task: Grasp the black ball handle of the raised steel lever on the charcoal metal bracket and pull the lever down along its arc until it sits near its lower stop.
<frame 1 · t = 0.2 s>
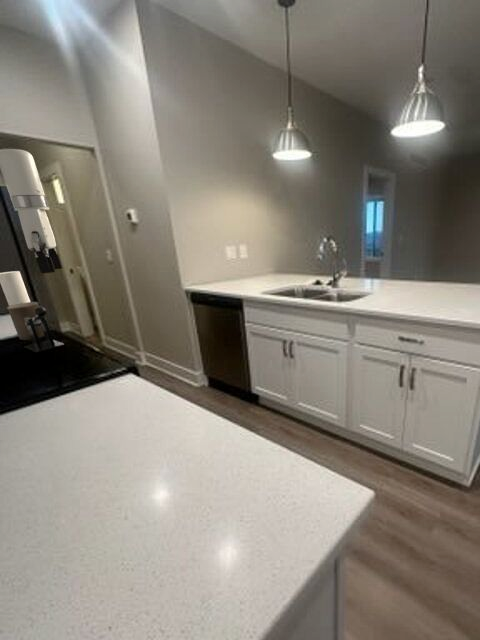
hand: (52, 270, 97), 29 cm above the counter, tool pointing down, fingers open, 9 cm apart
lever: (38, 316, 117), point 12 cm above the counter, hinge at 28.0°
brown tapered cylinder: (35, 339, 137), on the counter
cylindrical container: (30, 333, 145), on the counter
bracket: (45, 348, 125), on the counter
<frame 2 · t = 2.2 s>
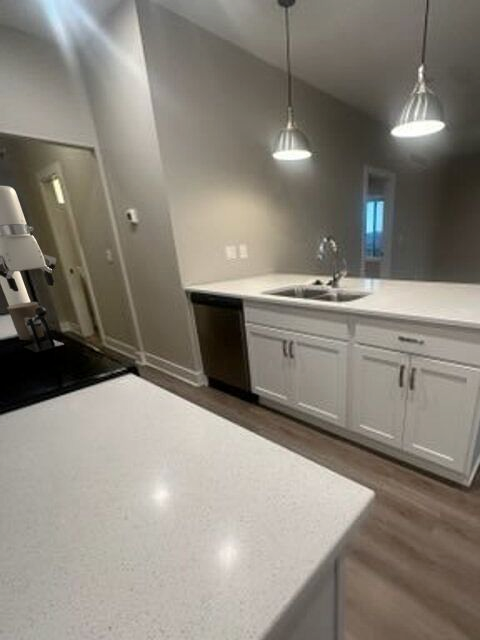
hand: (33, 288, 111), 23 cm above the counter, tool pointing down, fingers open, 9 cm apart
nothing on the counter moved.
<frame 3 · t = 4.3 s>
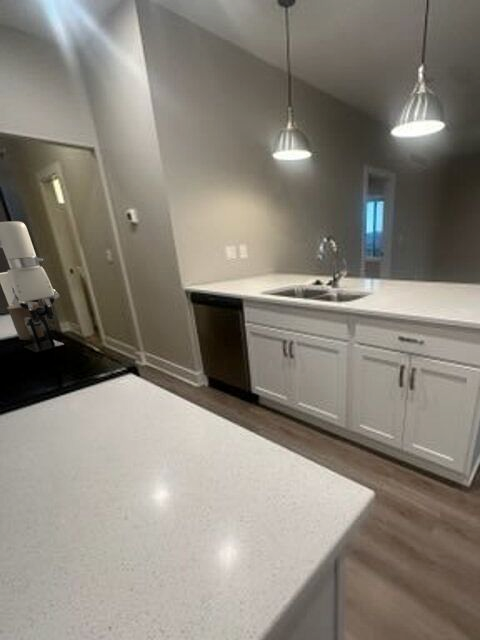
hand: (43, 319, 115), 12 cm above the counter, tool pointing down, fingers closed on lever, 3 cm apart
lever: (38, 316, 117), point 12 cm above the counter, hinge at 28.0°, touching gripper
everything else where it was.
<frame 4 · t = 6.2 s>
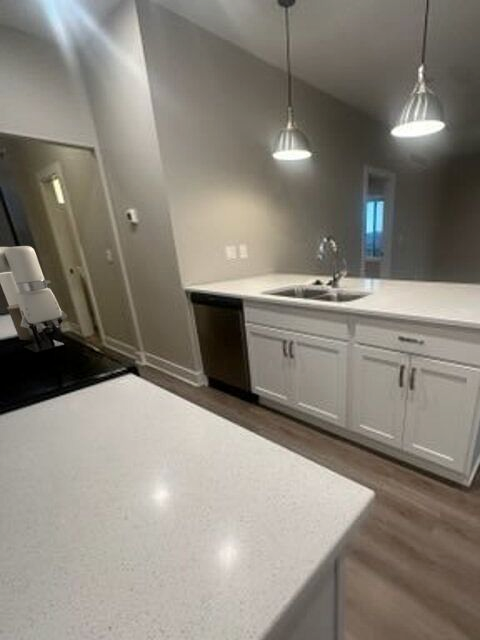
hand: (51, 340, 117), 5 cm above the counter, tool pointing down, fingers closed on lever, 3 cm apart
lever: (42, 326, 118), point 9 cm above the counter, hinge at -12.3°, touching gripper
everything else where it was.
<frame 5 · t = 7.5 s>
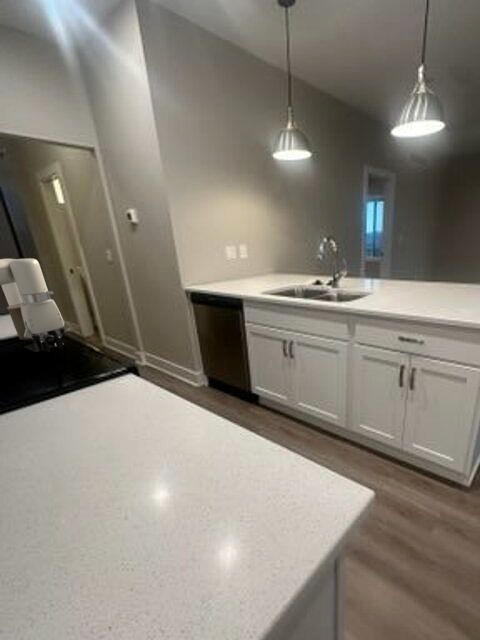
hand: (54, 349, 119), 1 cm above the counter, tool pointing down, fingers closed on lever, 3 cm apart
lever: (43, 331, 120), point 7 cm above the counter, hinge at -33.6°, touching gripper
everything else where it was.
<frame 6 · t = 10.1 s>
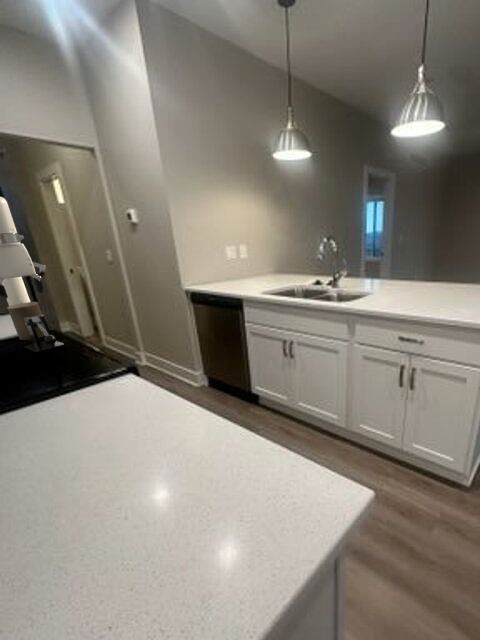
hand: (23, 294, 113), 20 cm above the counter, tool pointing down, fingers open, 9 cm apart
lever: (43, 330, 119), point 7 cm above the counter, hinge at -32.5°
everything else where it was.
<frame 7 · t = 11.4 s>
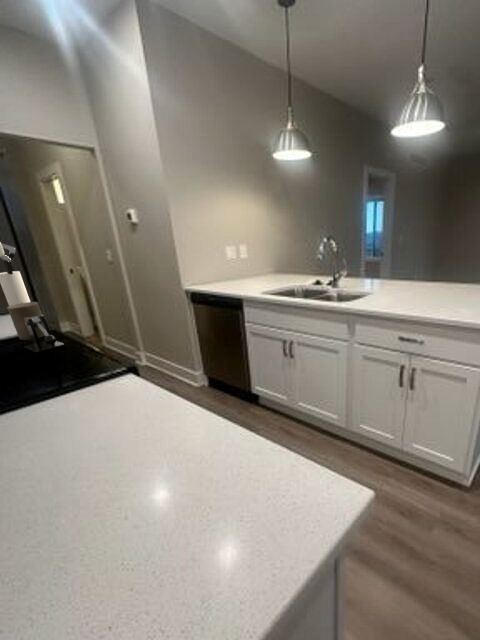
nothing on the counter moved.
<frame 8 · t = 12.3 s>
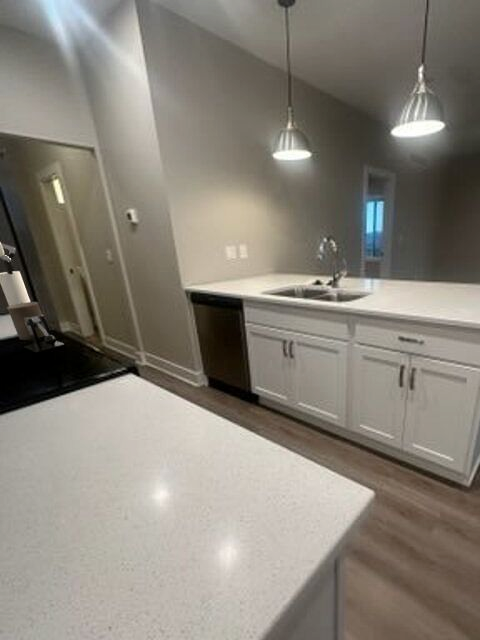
nothing on the counter moved.
at the end: lever at -32° (first picture: +28°) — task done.
